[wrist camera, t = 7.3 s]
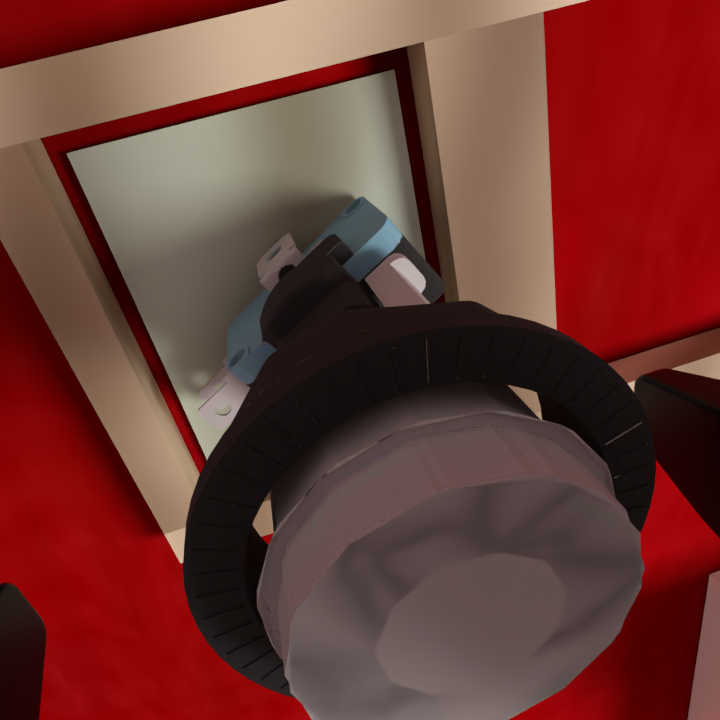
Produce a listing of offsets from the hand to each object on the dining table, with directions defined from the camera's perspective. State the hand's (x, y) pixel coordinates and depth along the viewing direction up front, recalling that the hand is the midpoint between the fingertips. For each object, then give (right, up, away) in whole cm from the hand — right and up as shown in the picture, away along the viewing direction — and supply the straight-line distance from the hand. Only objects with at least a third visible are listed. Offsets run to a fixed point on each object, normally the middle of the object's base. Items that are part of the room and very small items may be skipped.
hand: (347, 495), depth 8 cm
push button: (-1, +3, +6) cm, 8 cm away
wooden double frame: (+4, +5, +7) cm, 9 cm away
